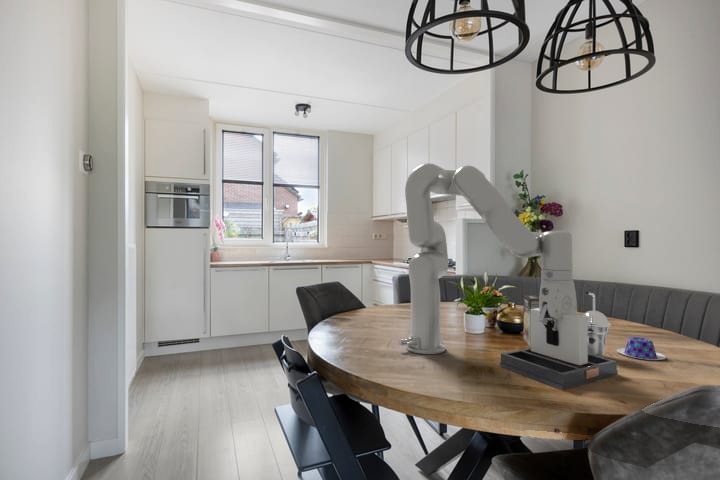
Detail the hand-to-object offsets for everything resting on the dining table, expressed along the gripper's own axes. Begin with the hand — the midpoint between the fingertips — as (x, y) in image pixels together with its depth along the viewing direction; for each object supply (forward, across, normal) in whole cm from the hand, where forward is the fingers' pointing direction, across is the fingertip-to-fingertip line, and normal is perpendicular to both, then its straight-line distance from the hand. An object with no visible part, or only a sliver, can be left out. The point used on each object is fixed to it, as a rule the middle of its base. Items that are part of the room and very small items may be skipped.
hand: (557, 342), depth 98 cm
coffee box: (+8, +18, +20) cm, 28 cm away
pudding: (+8, +36, -3) cm, 37 cm away
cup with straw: (+8, +22, +3) cm, 23 cm away
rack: (+7, 0, 0) cm, 7 cm away
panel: (+4, 0, 0) cm, 4 cm away
